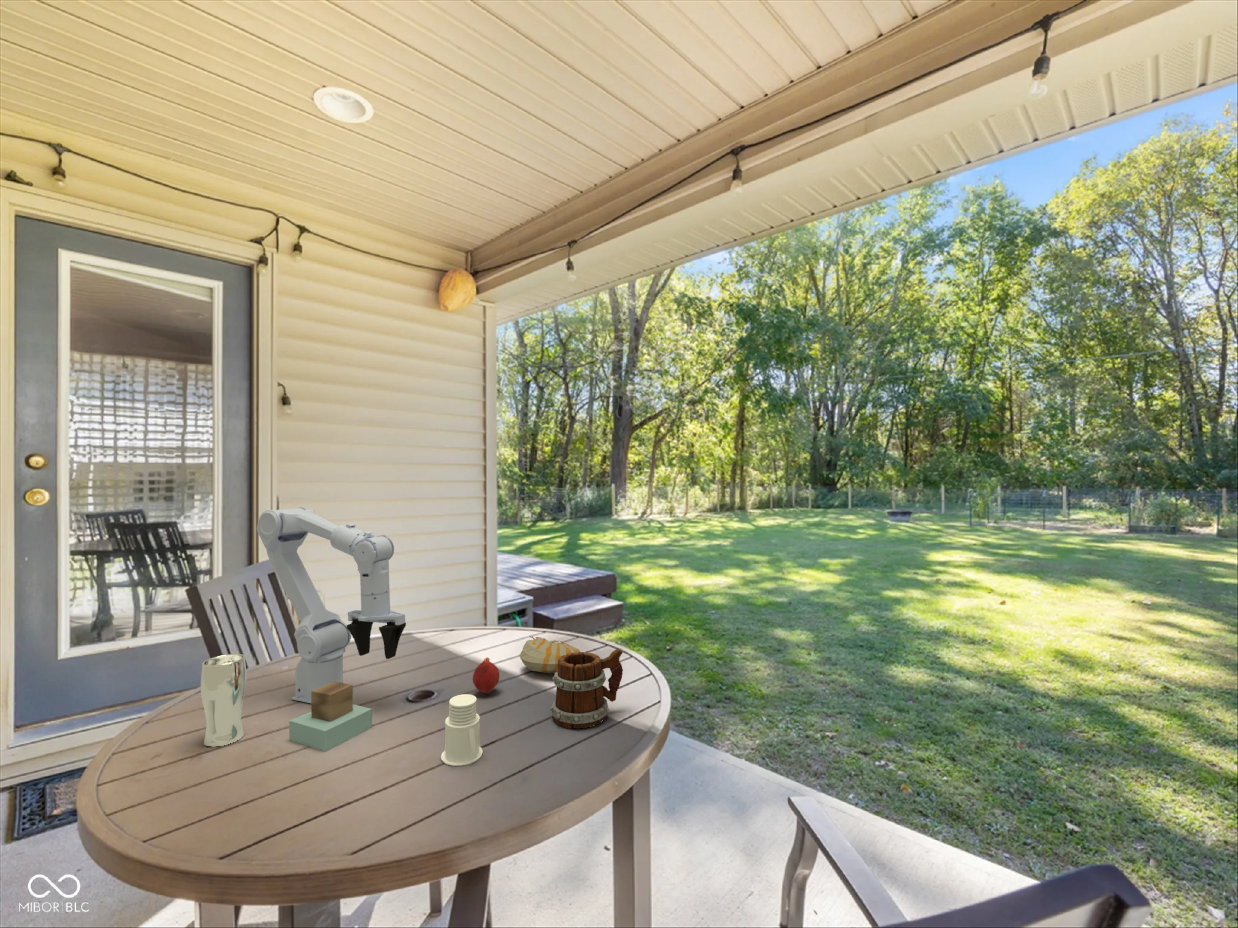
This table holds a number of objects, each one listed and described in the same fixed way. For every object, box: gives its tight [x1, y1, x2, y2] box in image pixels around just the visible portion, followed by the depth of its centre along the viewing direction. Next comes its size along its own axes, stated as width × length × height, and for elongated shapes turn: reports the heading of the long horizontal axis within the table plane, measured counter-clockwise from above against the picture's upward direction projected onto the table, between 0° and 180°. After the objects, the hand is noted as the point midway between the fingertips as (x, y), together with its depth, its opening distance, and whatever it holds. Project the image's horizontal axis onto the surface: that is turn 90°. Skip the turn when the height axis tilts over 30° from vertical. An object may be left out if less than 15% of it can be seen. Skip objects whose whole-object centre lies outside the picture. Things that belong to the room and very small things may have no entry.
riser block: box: [288, 703, 373, 752], centre depth 104 cm, size 10×10×4 cm
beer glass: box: [200, 653, 247, 747], centre depth 102 cm, size 7×7×15 cm
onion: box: [472, 657, 500, 695], centre depth 122 cm, size 6×6×8 cm
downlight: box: [440, 693, 483, 767], centre depth 96 cm, size 8×7×10 cm
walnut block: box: [310, 682, 354, 722], centre depth 105 cm, size 5×5×5 cm
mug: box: [549, 648, 624, 729], centre depth 111 cm, size 12×14×15 cm
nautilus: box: [519, 634, 581, 675], centre depth 139 cm, size 8×22×15 cm
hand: (377, 655), depth 117 cm, fingers open, 7 cm apart
